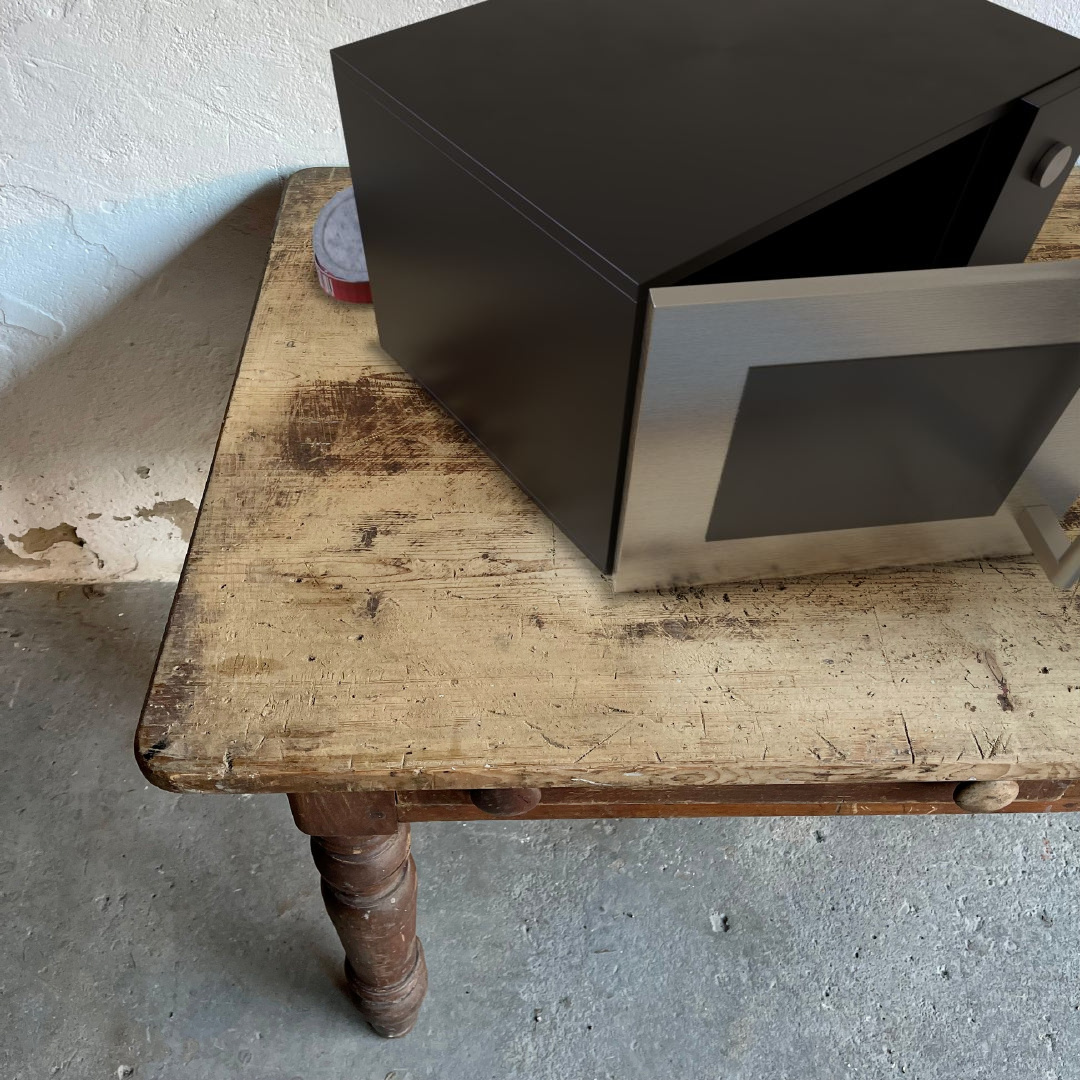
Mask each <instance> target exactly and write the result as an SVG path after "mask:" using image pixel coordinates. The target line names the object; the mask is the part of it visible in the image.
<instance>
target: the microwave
mask: <svg viewBox="0 0 1080 1080" xmlns="http://www.w3.org/2000/svg"><path fill="white" fill-rule="evenodd" d="M329 56H330V60H331V68H332V69H331V70H332V74H333V75H332V76H333V80H334V86H335V91H336V98H337V105H338V109H339V116H340V121H341V127H342V132H343V133H342V134H343V138H344V144H345V150H346V156H347V162H348V166H349V173H350V178H351V183H352V184H351V185H353V191H354V197H355V202H356V208H357V214H358V220H359V226H360V231H361V237H362V243H363V249H364V254H365V260H366V266H367V272H368V278H369V283H370V289H371V295H372V301H373V302H372V306H373V312H374V317H375V323H376V329H377V334H378V335H377V336H378V340H379V346H380V347H381V349H382V350H383V351H384V352H385V353H386V354H387V355H388V356H389V357H390V359H392V360H393V361H394V362H395V363H396V364H397V365H398V366H399V367H400V368H401V369H402V371H404V372H405V373H406V374H407V375H408V376H409V377H410V378H411V379H412V380H413V381H414V382H415V383H416V384H417V386H418V387H420V388H421V390H422V391H424V393H425V394H426V395H427V396H429V398H430V399H431V400H432V401H433V402H434V403H435V404H436V405H437V406H438V407H439V408H440V409H441V410H442V411H443V412H444V413H445V414H446V415H447V416H448V417H449V418H450V419H451V420H452V421H453V422H454V423H455V424H456V425H457V426H458V427H459V428H460V430H461V431H462V432H464V433H465V434H466V435H467V436H468V438H469V439H470V440H471V441H472V442H473V443H474V444H475V445H476V446H477V447H478V448H479V449H480V450H481V451H482V452H483V453H484V454H485V455H486V456H487V457H488V459H490V460H491V462H493V463H494V464H495V465H496V466H497V467H498V469H500V470H501V471H502V472H503V473H504V474H505V475H506V476H507V478H509V479H510V481H511V482H512V483H513V484H515V485H516V486H517V488H519V490H520V492H522V493H523V494H524V495H525V496H526V497H527V498H528V499H529V500H530V501H531V502H532V503H533V504H534V505H535V506H536V507H537V508H538V510H540V511H541V512H542V514H544V515H545V516H546V517H547V518H548V519H549V520H550V521H551V523H552V524H553V525H554V526H556V528H557V529H558V530H559V531H560V532H561V533H562V534H563V535H564V536H565V537H566V538H567V539H568V540H569V541H570V542H571V543H572V544H573V545H574V546H575V547H576V548H577V549H578V550H579V551H580V552H581V553H582V554H583V555H584V557H586V558H587V559H588V560H589V561H590V562H591V563H592V565H594V566H595V567H596V569H598V570H599V572H601V574H602V575H603V576H606V575H608V574H609V573H612V571H613V563H614V556H615V548H616V540H617V532H618V525H619V517H620V509H621V501H622V494H623V486H624V478H625V471H626V463H627V455H628V447H629V440H630V432H631V424H632V416H633V409H634V401H635V393H636V385H637V378H638V370H639V362H640V354H641V347H642V339H643V331H644V324H645V316H646V308H647V300H648V293H649V289H650V288H663V287H677V286H692V285H707V284H722V283H737V282H751V281H766V280H781V279H796V278H811V277H825V276H840V275H855V274H870V273H885V272H899V271H914V270H929V269H944V268H959V267H973V266H988V265H1003V264H1018V263H1025V261H1026V259H1027V257H1028V255H1029V253H1030V252H1031V249H1032V248H1033V246H1034V244H1035V242H1036V240H1037V238H1038V236H1039V234H1040V232H1041V230H1042V228H1043V226H1044V225H1045V223H1046V222H1047V219H1048V217H1049V215H1050V213H1051V211H1052V210H1053V208H1054V205H1055V204H1056V201H1057V200H1058V198H1059V195H1060V194H1061V192H1062V190H1063V188H1064V186H1065V184H1066V182H1067V181H1068V179H1069V177H1070V175H1071V173H1072V171H1073V170H1074V167H1075V165H1076V163H1077V161H1078V160H1079V157H1080V37H1077V36H1075V35H1072V34H1070V33H1067V32H1065V31H1063V30H1060V29H1058V28H1055V27H1053V26H1051V25H1047V24H1046V23H1043V22H1041V21H1039V20H1036V19H1034V18H1032V17H1029V16H1026V15H1024V14H1022V13H1019V12H1017V11H1014V10H1012V9H1009V8H1007V7H1005V6H1002V5H1000V4H997V3H996V2H992V1H990V0H484V1H483V0H482V1H480V2H477V3H473V4H471V5H466V6H464V7H460V8H457V9H455V10H451V11H448V12H445V13H442V14H439V15H435V16H432V17H429V18H427V19H423V20H420V21H419V20H418V21H417V22H413V23H409V24H407V25H404V26H400V27H396V28H394V29H390V30H388V31H387V30H386V31H384V32H381V33H378V34H375V35H371V36H369V37H365V38H362V39H359V40H358V39H357V40H355V41H352V42H349V43H346V44H342V45H339V46H337V47H333V48H330V49H329Z"/></svg>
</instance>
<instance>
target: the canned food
mask: <svg viewBox="0 0 1080 1080" xmlns="http://www.w3.org/2000/svg"><path fill="white" fill-rule="evenodd" d="M312 250H313V251H314V253H313V261H314V263H315V268H316V273H317V277H318V281H319V284H320V286H321V288H322V290H323V291H324V292H325V293H326V294H328V295H329V296H330V297H332V298H334V299H336V300H339V301H342V302H346V303H351V304H371V303H372V304H373V301H372V295H371V289H370V283H369V278H368V272H367V266H366V260H365V254H364V249H363V243H362V237H361V231H360V226H359V220H358V214H357V208H356V202H355V197H354V191H353V185H352V184H351V185H350V186H348V187H346V188H344V189H341V190H340V191H337V192H336V193H334V195H333V196H332V197H331V198H330V199H329V201H328V202H326V204H325V205H324V206H323V207H322V208H321V209H320V210H319V213H318V215H317V218H316V219H315V223H314V225H313V227H312Z"/></svg>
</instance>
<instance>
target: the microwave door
mask: <svg viewBox="0 0 1080 1080" xmlns="http://www.w3.org/2000/svg"><path fill="white" fill-rule="evenodd" d="M1079 498H1080V259H1078V258H1077V259H1065V260H1063V259H1061V260H1050V261H1034V262H1024V263H1018V264H1003V265H988V266H973V267H959V268H944V269H929V270H914V271H899V272H885V273H870V274H855V275H840V276H825V277H811V278H796V279H781V280H766V281H751V282H737V283H722V284H707V285H692V286H677V287H663V288H650V289H649V293H648V300H647V308H646V316H645V324H644V331H643V339H642V347H641V354H640V362H639V370H638V378H637V385H636V393H635V401H634V409H633V416H632V424H631V432H630V440H629V447H628V455H627V463H626V471H625V478H624V486H623V494H622V501H621V509H620V517H619V525H618V532H617V540H616V548H615V556H614V563H613V571H611V580H612V585H613V590H614V593H616V594H617V593H627V592H638V591H650V590H659V589H670V588H680V587H681V588H682V587H692V586H700V585H701V586H703V585H712V584H721V583H722V584H723V583H733V582H744V581H755V580H756V581H757V580H765V579H778V578H788V577H797V576H807V575H808V576H809V575H817V574H829V573H840V572H851V571H862V570H871V569H880V568H881V569H883V568H894V567H902V566H915V565H924V564H933V563H934V564H935V563H945V562H955V561H967V560H977V559H986V558H988V559H989V558H998V557H1008V556H1019V555H1031V554H1033V555H1034V557H1035V558H1036V560H1037V562H1038V564H1039V565H1040V567H1041V569H1042V571H1043V573H1044V575H1045V576H1046V578H1047V580H1048V582H1049V583H1050V584H1051V585H1052V586H1053V587H1055V588H1057V589H1060V590H1069V589H1071V588H1072V587H1073V586H1074V585H1075V584H1076V583H1077V581H1078V580H1079V579H1080V533H1078V535H1077V536H1076V537H1075V539H1074V540H1073V541H1072V542H1071V540H1070V539H1069V537H1068V535H1067V534H1066V532H1065V530H1064V529H1063V527H1062V525H1061V524H1060V522H1061V521H1062V520H1063V518H1064V517H1065V516H1066V514H1067V513H1068V511H1069V510H1070V509H1071V507H1072V506H1073V505H1074V504H1075V502H1076V501H1077V499H1079Z"/></svg>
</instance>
